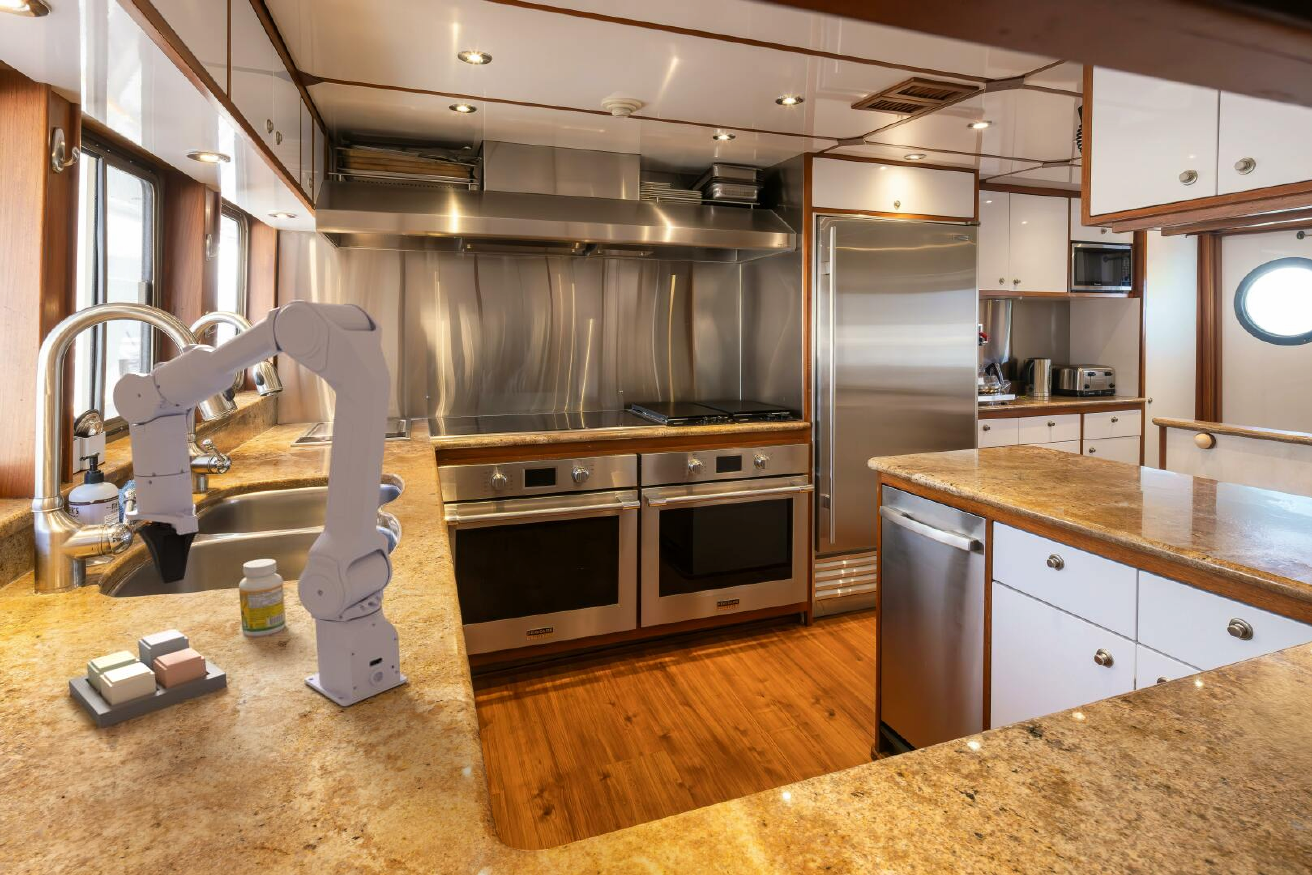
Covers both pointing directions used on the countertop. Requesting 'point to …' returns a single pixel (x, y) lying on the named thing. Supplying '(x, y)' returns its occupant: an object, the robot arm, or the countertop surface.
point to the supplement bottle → (262, 598)
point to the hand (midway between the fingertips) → (172, 580)
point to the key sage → (108, 666)
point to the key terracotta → (179, 667)
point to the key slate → (161, 646)
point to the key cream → (127, 683)
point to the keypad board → (143, 697)
